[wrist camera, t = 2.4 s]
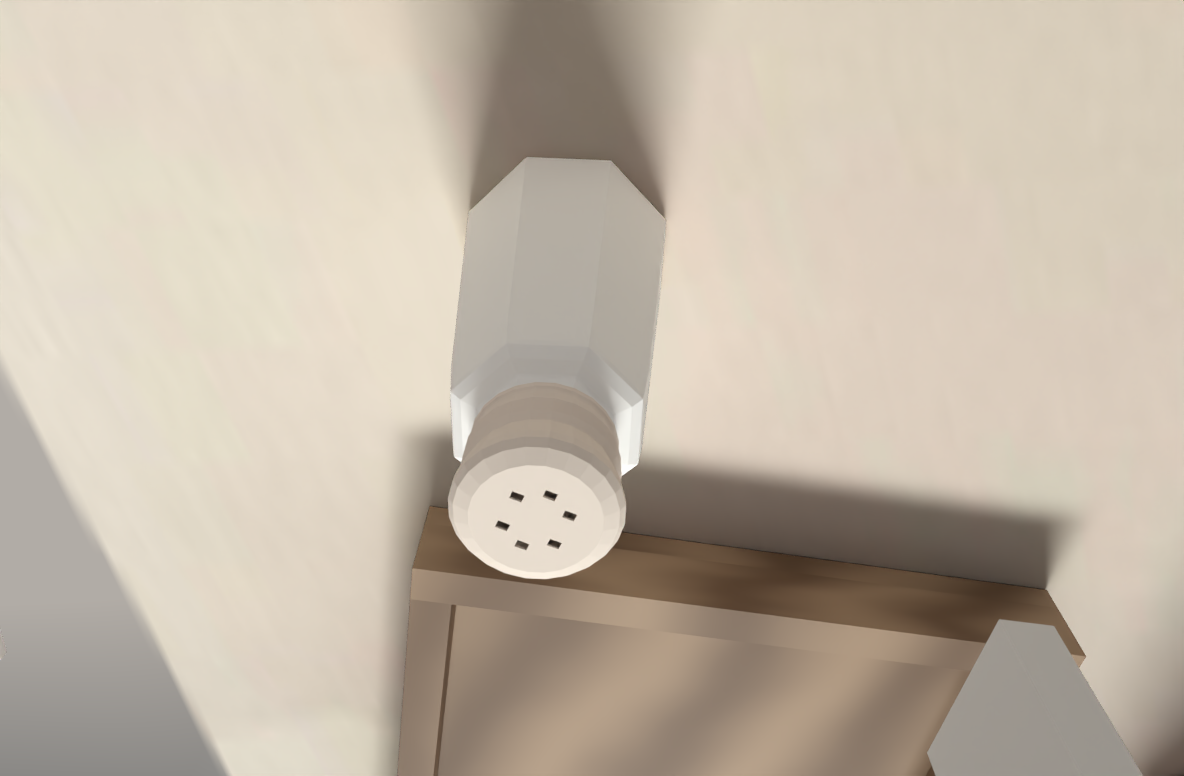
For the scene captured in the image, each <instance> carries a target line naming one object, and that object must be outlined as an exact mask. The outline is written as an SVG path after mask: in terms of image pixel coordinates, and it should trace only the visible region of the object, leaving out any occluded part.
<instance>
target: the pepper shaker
mask: <svg viewBox="0 0 1184 776" xmlns="http://www.w3.org/2000/svg"><path fill="white" fill-rule="evenodd" d="M665 229H666V219H665V218H664V217H663V216H662V215H661V214H660V213H659V212H658V211H657V210H656V209H655V208H654V206H653V205H652V204H651V203H650V202H649V201H648V200H647V199H646V198H645V197H644V196H643V195H642V193H641V192H640V191H639V190H638V189H637V188H636V187H635V186H634V185H633V184H632V183H631V182H630V180H629V179H628V178H627V177H626V176H625V175H624V174H623V173H622V172H621V171H620V170H619V169H618V167H617V166H616V165H615V164H614V163H613V162H612V161H611V160H588V159H564V158H539V157H526V158H525V159H524V160H523V161H522V162H521V163H519V164H518V165H517V166H516V167H515V168H514V169H513V170H512V171H511V172H510V173H509V174H508V175H507V176H506V177H505V178H504V179H503V180H502V181H501V182H500V183H498V184H497V185H496V186H495V187H494V188H493V189H492V190H491V191H490V192H489V193H488V194H487V195H486V196H485V197H484V198H483V199H482V200H481V201H480V202H479V203H477V204H476V205H475V206H474V207H473V208H472V209H471V210H470V211H469V212H468V221H467V230H466V239H465V248H464V257H463V265H462V274H461V283H460V292H459V301H458V310H457V319H456V328H455V337H454V346H453V355H452V364H451V394H450V404H451V423H452V442H453V452H454V457H455V458H456V459H457V460H459V461H460V462H461V464H460V466H459V468H458V469H457V471H456V472H455V475H454V478H453V481H452V485H451V488H450V492H449V495H448V511H449V518H450V521H451V523H452V526H453V528H454V531H455V533H456V535H457V536H458V538H459V539H460V540H461V541H462V543H463V544H464V545H465V547H466V548H467V549H468V550H469V551H470V552H471V553H473V554H474V555H475V556H476V557H478V558H479V559H480V560H482V561H483V562H484V563H485V564H487V565H489V566H491V567H493V568H495V569H497V570H499V571H501V572H504V573H506V574H510V575H514V576H518V577H522V578H532V579H550V578H556V577H563V576H568V575H570V574H573V573H575V572H578V571H581V570H583V569H586V568H588V567H589V566H591V565H592V564H594V563H595V562H597V561H598V560H600V559H601V558H602V557H604V556H605V555H606V554H607V553H608V552H609V551H610V549H611V548H612V547H613V546H614V545H615V543H616V542H617V541H618V539H619V537H620V534H621V532H622V530H623V527H624V525H625V517H626V498H625V494H624V490H623V486H622V482H621V477H622V476H623V475H624V474H625V473H627V472H628V471H629V470H631V469H632V468H634V467H635V466H636V465H638V462H639V458H640V453H641V448H642V444H643V436H644V427H645V419H646V410H647V402H648V393H649V385H650V376H651V368H652V359H653V351H654V342H655V334H656V325H657V317H658V309H659V300H660V290H661V278H662V265H663V253H664V241H665Z"/></svg>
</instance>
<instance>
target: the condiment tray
mask: <svg viewBox="0 0 1184 776" xmlns="http://www.w3.org/2000/svg"><path fill="white" fill-rule="evenodd" d="M999 619H1002V620H1010V621H1018V622H1027V623H1035V624H1043V625H1051V626H1054V627H1055V628H1056V630H1057V632H1058V634H1059V635H1060V637H1061V639H1062V640H1063V642H1064V644H1065V645H1066V647H1067V649H1068V650H1069V652H1070V654H1071V655H1072V657H1073V659H1074V660H1075V662H1076V664H1077V665H1078V667H1080V665H1081V664H1082V662H1083V661H1084V659H1085V657H1086V655H1085V654H1084V652H1083V650H1082V649H1081V647H1080V645H1079V644H1078V642H1077V640H1076V639H1075V637H1074V635H1073V634H1072V632H1071V630H1070V628H1069V627H1068V625H1067V623H1066V622H1065V620H1064V618H1063V617H1062V615H1061V613H1060V612H1059V610H1058V608H1057V607H1056V605H1055V603H1054V602H1053V600H1052V598H1051V597H1050V595H1049V593H1048V591H1047V590H1043V589H1036V588H1028V587H1021V586H1014V585H1006V584H999V583H992V582H984V581H977V580H969V579H962V578H955V577H947V576H940V575H933V574H925V573H918V572H910V571H903V570H896V569H888V568H881V567H874V566H866V565H859V564H851V563H844V562H837V561H829V560H822V559H815V558H807V557H800V556H792V555H785V554H778V553H770V552H763V551H756V550H748V549H741V548H733V547H726V546H719V545H711V544H704V543H697V542H689V541H682V540H674V539H667V538H660V537H652V536H645V535H638V534H630V533H623V532H621V534H620V537H619V539H618V541H617V542H616V543H615V545H614V546H613V547H612V548H611V549H610V551H609V552H608V553H607V554H606V555H605V556H604V557H602V558H601V559H600V560H598V561H597V562H595V563H594V564H592V565H591V566H589V567H588V568H586V569H583V570H581V571H578V572H575V573H573V574H570V575H568V576H563V577H556V578H550V579H532V578H522V577H518V576H514V575H510V574H506V573H504V572H501V571H499V570H497V569H495V568H493V567H491V566H489V565H487V564H485V563H484V562H483V561H482V560H480V559H479V558H478V557H476V556H475V555H474V554H473V553H471V552H470V551H469V550H468V549H467V548H466V547H465V545H464V544H463V543H462V541H461V540H460V539H459V538H458V536H457V535H456V533H455V531H454V528H453V526H452V523H451V521H450V518H449V511H448V509H446V508H439V507H431V506H430V507H429V510H428V514H427V518H426V521H425V525H424V528H423V532H422V535H421V539H420V542H419V546H418V550H417V553H416V557H415V560H414V564H413V567H412V579H411V593H410V606H409V620H408V634H407V648H406V662H405V675H404V689H403V703H402V717H401V731H400V744H399V758H398V772H397V776H935V773H934V770H933V768H932V765H931V762H930V760H929V757H928V754H927V752H928V750H929V748H930V746H931V744H932V743H933V741H934V739H935V737H936V735H937V733H938V731H939V730H940V728H941V726H942V724H943V722H944V720H945V718H946V717H947V715H948V713H949V711H950V709H951V707H952V705H953V704H954V702H955V700H956V698H957V696H958V694H959V693H960V691H961V689H962V687H963V685H964V683H965V681H966V680H967V678H968V676H969V674H970V672H971V670H972V668H973V667H974V665H975V663H976V661H977V659H978V657H979V655H980V654H981V652H982V650H983V648H984V646H985V644H986V642H987V641H988V639H989V637H990V635H991V633H992V631H993V629H994V628H995V626H996V624H997V622H998V620H999Z"/></svg>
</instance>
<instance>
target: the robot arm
mask: <svg viewBox="0 0 1184 776" xmlns="http://www.w3.org/2000/svg"><path fill="white" fill-rule="evenodd" d="M5 654H6V648H5V644H4V640H3V636H2V632H1V628H0V660H1V659H2V658H3V656H4V655H5ZM927 754H928V757H929V760H930V762H931V765H932V768H933V770H934V773H935V776H1143V775H1142V773H1141V771H1140V770H1139V768H1138V766H1137V765H1136V763H1135V761H1134V760H1133V758H1132V756H1131V754H1130V753H1129V751H1128V749H1127V748H1126V746H1125V744H1124V743H1123V741H1122V739H1121V738H1120V736H1119V734H1118V733H1117V731H1116V729H1115V728H1114V726H1113V724H1112V723H1111V721H1110V719H1109V718H1108V716H1107V714H1106V712H1105V711H1104V709H1103V707H1102V706H1101V704H1100V702H1099V701H1098V699H1097V697H1096V696H1095V694H1094V692H1093V691H1092V689H1091V687H1090V686H1089V684H1088V682H1087V681H1086V679H1085V677H1084V676H1083V674H1082V672H1081V670H1080V669H1079V667H1078V665H1077V664H1076V662H1075V660H1074V659H1073V657H1072V655H1071V654H1070V652H1069V650H1068V649H1067V647H1066V645H1065V644H1064V642H1063V640H1062V639H1061V637H1060V635H1059V634H1058V632H1057V630H1056V628H1055V627H1054V626H1051V625H1043V624H1035V623H1027V622H1018V621H1010V620H1002V619H999V620H998V622H997V624H996V626H995V628H994V629H993V631H992V633H991V635H990V637H989V639H988V641H987V642H986V644H985V646H984V648H983V650H982V652H981V654H980V655H979V657H978V659H977V661H976V663H975V665H974V667H973V668H972V670H971V672H970V674H969V676H968V678H967V680H966V681H965V683H964V685H963V687H962V689H961V691H960V693H959V694H958V696H957V698H956V700H955V702H954V704H953V705H952V707H951V709H950V711H949V713H948V715H947V717H946V718H945V720H944V722H943V724H942V726H941V728H940V730H939V731H938V733H937V735H936V737H935V739H934V741H933V743H932V744H931V746H930V748H929V750H928V752H927Z"/></svg>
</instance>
